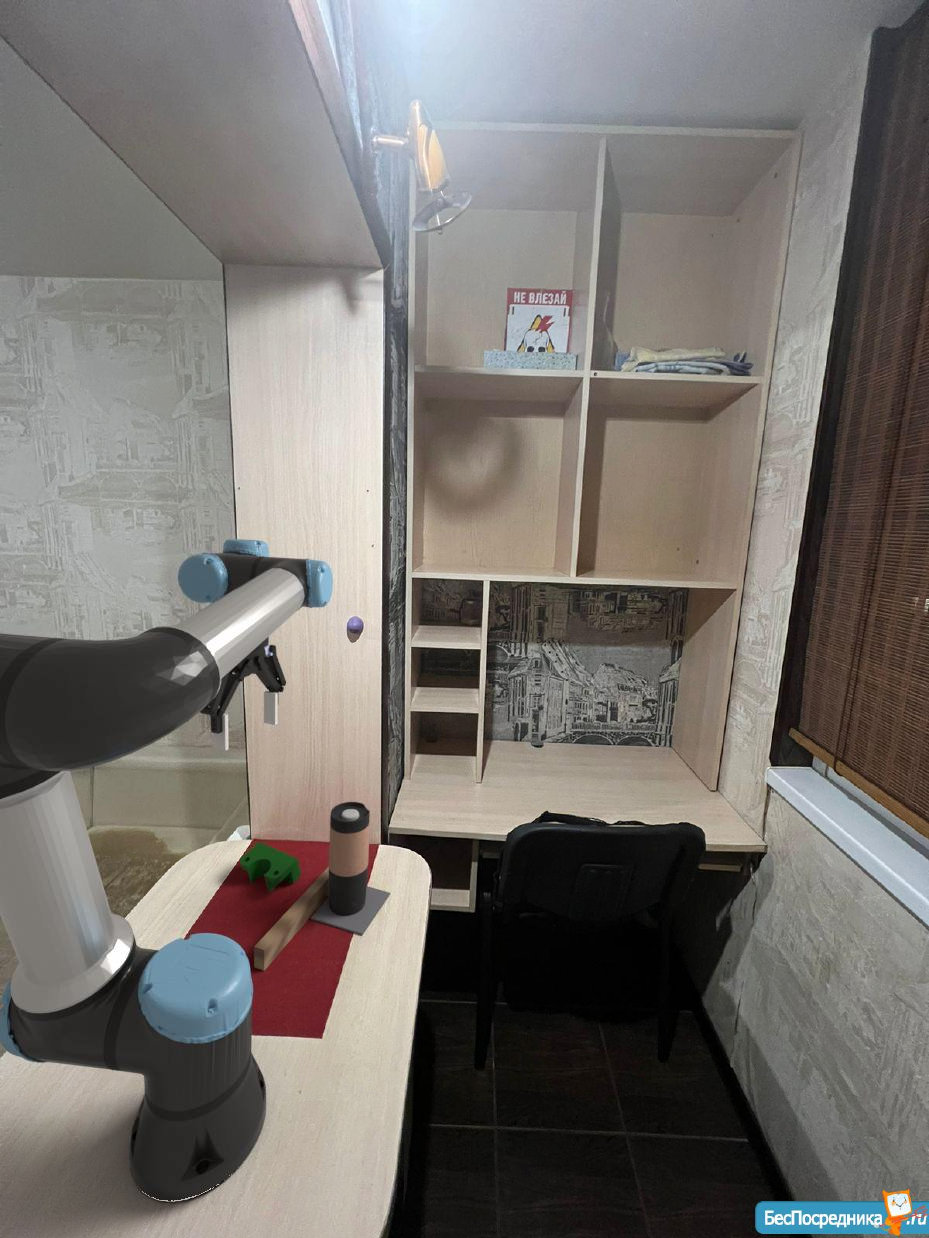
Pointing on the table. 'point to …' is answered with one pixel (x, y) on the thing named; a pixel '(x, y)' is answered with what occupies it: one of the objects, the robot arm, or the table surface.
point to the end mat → (356, 921)
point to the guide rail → (291, 922)
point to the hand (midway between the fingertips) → (247, 735)
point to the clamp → (270, 865)
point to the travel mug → (348, 857)
